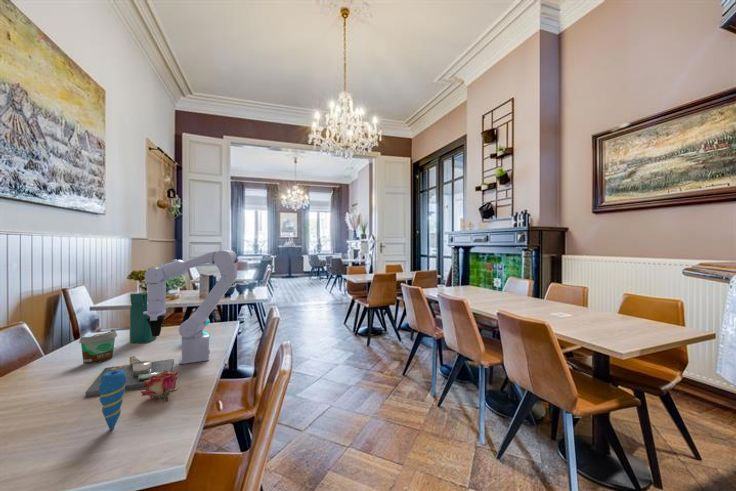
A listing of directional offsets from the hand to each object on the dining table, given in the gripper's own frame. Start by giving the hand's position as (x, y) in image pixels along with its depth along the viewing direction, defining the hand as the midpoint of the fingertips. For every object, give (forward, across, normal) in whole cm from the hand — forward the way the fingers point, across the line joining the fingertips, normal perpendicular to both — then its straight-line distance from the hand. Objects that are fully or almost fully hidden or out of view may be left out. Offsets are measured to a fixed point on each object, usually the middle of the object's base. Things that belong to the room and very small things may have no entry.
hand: (156, 335), depth 120 cm
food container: (+10, -10, -18) cm, 23 cm away
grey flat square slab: (+9, +15, -4) cm, 18 cm away
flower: (+10, +35, +5) cm, 37 cm away
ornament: (+10, +48, -3) cm, 49 cm away
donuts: (+10, -22, +13) cm, 27 cm away
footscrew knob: (+8, +12, -4) cm, 15 cm away
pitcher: (+10, -32, -9) cm, 34 cm away
